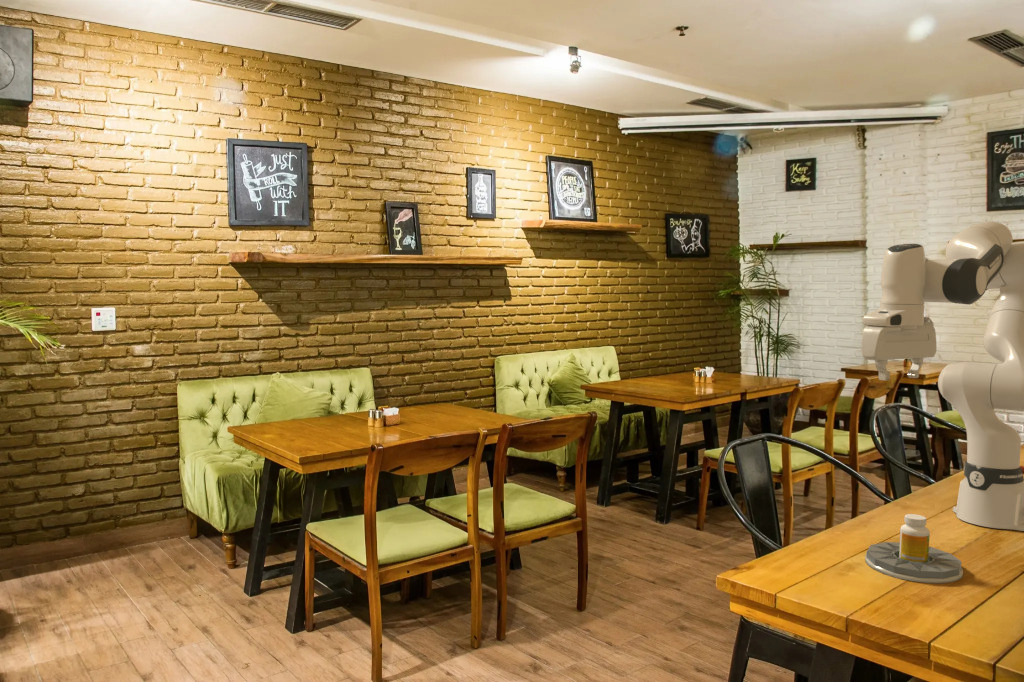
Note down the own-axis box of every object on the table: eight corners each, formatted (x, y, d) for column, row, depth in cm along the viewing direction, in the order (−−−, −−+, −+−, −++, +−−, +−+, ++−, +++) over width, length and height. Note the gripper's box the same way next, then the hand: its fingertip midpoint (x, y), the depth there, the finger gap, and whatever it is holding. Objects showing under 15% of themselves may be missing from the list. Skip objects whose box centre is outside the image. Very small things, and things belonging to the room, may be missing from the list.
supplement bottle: (931, 568, 158) (934, 521, 157) (903, 566, 159) (905, 519, 158) (923, 559, 163) (925, 513, 163) (895, 557, 164) (897, 512, 164)
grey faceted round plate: (904, 546, 173) (904, 537, 173) (982, 574, 157) (983, 563, 157) (846, 558, 166) (846, 548, 165) (922, 589, 149) (923, 578, 149)
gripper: (920, 315, 181) (917, 375, 182) (857, 317, 172) (855, 379, 173) (945, 317, 175) (942, 378, 176) (882, 318, 166) (879, 382, 167)
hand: (898, 378), depth 174 cm, fingers open, 8 cm apart
